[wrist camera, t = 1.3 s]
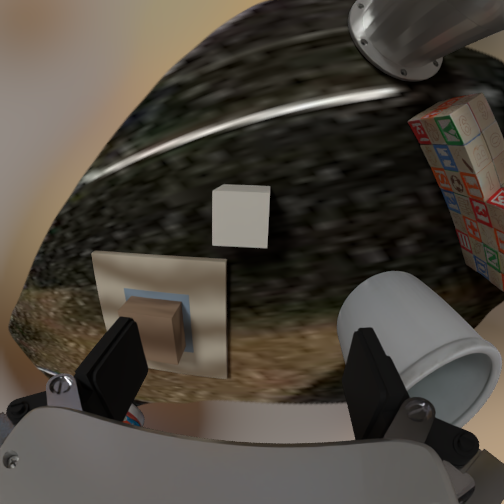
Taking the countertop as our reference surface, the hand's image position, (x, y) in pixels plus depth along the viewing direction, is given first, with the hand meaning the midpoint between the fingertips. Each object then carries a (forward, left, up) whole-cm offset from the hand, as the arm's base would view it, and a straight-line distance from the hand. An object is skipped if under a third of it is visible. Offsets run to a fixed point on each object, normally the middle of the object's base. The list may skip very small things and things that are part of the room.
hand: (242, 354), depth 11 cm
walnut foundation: (+13, -13, -20) cm, 27 cm away
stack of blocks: (-7, +25, -22) cm, 34 cm away
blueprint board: (+13, -13, -21) cm, 28 cm away
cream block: (-2, -2, -21) cm, 21 cm away
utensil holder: (+11, +17, -21) cm, 29 cm away
